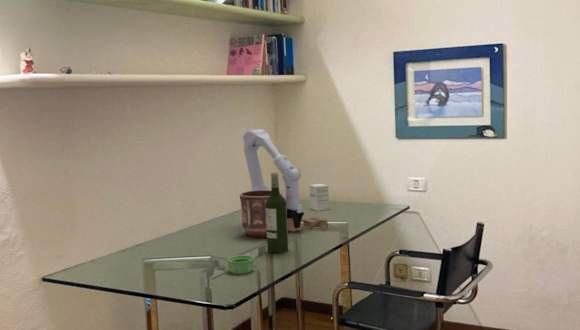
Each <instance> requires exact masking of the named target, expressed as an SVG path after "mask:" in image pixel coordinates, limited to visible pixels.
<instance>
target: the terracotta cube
mask: <svg viewBox="0 0 580 330" xmlns="http://www.w3.org/2000/svg"><path fill="white" fill-rule="evenodd" d="M294 230H299V231H301V230H302V227H301V226H300V228H296V229H295V227H294V221H293V218H288V219H287V231H288V232H289V231H290V232H291V231H292V232H295V231H294Z"/></svg>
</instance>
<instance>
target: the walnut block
mask: <svg viewBox="0 0 580 330" xmlns="http://www.w3.org/2000/svg"><path fill="white" fill-rule="evenodd" d="M302 222H303V225H304V226H307V227H310V228H314V227H323V226H329V225H328V219H326V218H323V217H320V216H316V217H310V218H302ZM303 225H302V226H303ZM304 226H303V227H304ZM307 227H306V228H307ZM310 228H309V229H310Z"/></svg>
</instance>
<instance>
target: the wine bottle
mask: <svg viewBox="0 0 580 330" xmlns="http://www.w3.org/2000/svg"><path fill="white" fill-rule="evenodd" d="M270 173H271V174H270V179H271V181H270V182H271V183H270V185H271V188H270V189H271V195H270V196H269V197H268V199H267V200H266V203H265V205H266V227H267V237H266V243H267V246H266V247H267V252H268V251H271V252H274V253H273V254H282V253H281V252H284V253H287V252H288V251H289V238H288V237H289V236H288V230H287V210H286V198H284V196H283V195H282V196H281V195H280V193H279V192H280V183H279V173H278V172H270ZM286 251H287V252H286Z"/></svg>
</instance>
